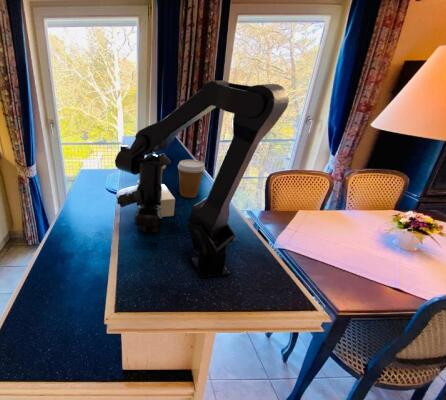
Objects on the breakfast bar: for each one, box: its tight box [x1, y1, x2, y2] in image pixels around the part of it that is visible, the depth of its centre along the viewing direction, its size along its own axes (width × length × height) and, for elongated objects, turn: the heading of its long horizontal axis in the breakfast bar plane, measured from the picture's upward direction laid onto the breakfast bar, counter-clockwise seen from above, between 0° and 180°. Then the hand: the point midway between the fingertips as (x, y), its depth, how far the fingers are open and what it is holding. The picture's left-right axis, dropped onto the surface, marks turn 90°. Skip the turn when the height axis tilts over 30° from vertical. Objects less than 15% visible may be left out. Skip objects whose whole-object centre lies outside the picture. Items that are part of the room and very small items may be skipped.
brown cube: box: [139, 226, 159, 233], centre depth 76 cm, size 5×5×5 cm
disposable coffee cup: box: [177, 159, 206, 199], centre depth 95 cm, size 10×10×12 cm
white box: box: [136, 181, 176, 218], centre depth 87 cm, size 13×10×8 cm
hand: (148, 232), depth 73 cm, fingers closed
